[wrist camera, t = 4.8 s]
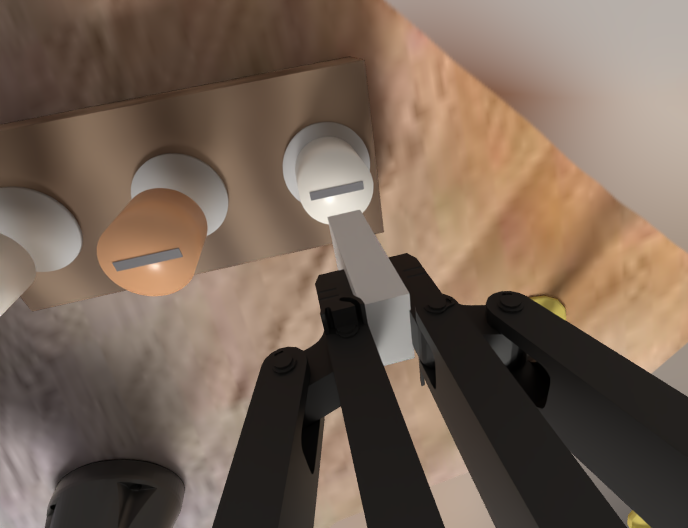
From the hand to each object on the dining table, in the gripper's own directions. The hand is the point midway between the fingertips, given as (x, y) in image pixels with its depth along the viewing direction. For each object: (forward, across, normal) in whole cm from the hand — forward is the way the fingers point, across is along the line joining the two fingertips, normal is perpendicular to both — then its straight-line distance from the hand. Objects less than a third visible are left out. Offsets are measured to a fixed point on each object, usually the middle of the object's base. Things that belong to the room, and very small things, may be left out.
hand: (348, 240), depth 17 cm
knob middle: (+6, -10, 0) cm, 11 cm away
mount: (+15, -9, 0) cm, 18 cm away
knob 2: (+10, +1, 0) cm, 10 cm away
